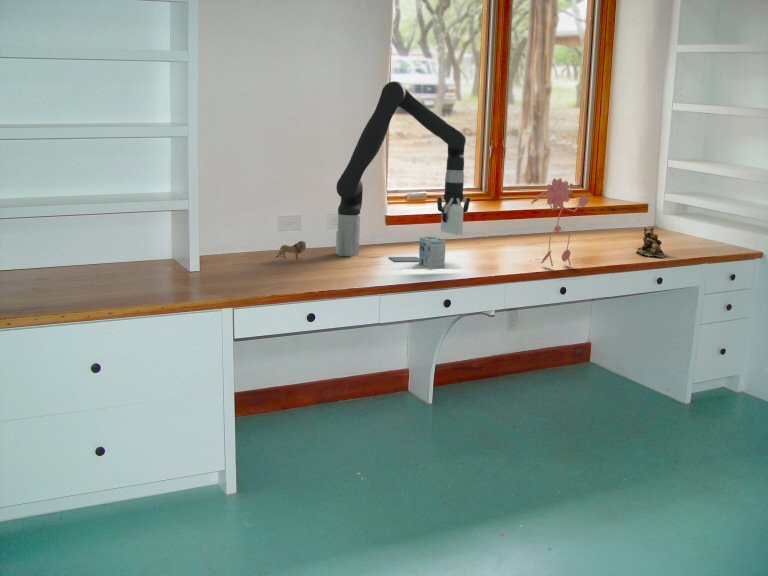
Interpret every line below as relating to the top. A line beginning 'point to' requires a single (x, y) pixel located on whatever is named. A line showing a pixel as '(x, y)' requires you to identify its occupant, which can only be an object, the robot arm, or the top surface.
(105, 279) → the top surface
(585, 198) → the figurine
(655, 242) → the bear figurine
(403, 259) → the slate pad
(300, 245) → the lion figurine
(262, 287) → the top surface
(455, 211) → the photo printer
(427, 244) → the light bulb box
